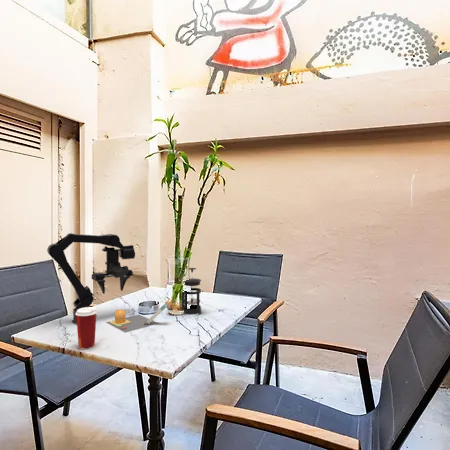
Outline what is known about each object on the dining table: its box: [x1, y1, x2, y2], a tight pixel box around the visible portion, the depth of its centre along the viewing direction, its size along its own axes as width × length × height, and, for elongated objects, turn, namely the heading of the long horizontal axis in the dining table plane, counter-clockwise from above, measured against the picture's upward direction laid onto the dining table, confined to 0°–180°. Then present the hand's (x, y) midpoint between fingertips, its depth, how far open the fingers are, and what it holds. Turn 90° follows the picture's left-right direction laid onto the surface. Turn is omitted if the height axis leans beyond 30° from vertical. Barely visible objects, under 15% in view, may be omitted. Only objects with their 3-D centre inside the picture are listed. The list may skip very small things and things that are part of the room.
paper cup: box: [75, 306, 98, 349], centre depth 129 cm, size 8×8×14 cm
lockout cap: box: [114, 309, 126, 323], centre depth 154 cm, size 4×4×5 cm
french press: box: [181, 267, 202, 316], centre depth 171 cm, size 12×9×23 cm
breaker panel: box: [105, 314, 160, 333], centre depth 154 cm, size 17×18×1 cm
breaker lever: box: [146, 303, 169, 324], centre depth 153 cm, size 2×3×11 cm
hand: (112, 292), depth 165 cm, fingers open, 9 cm apart
